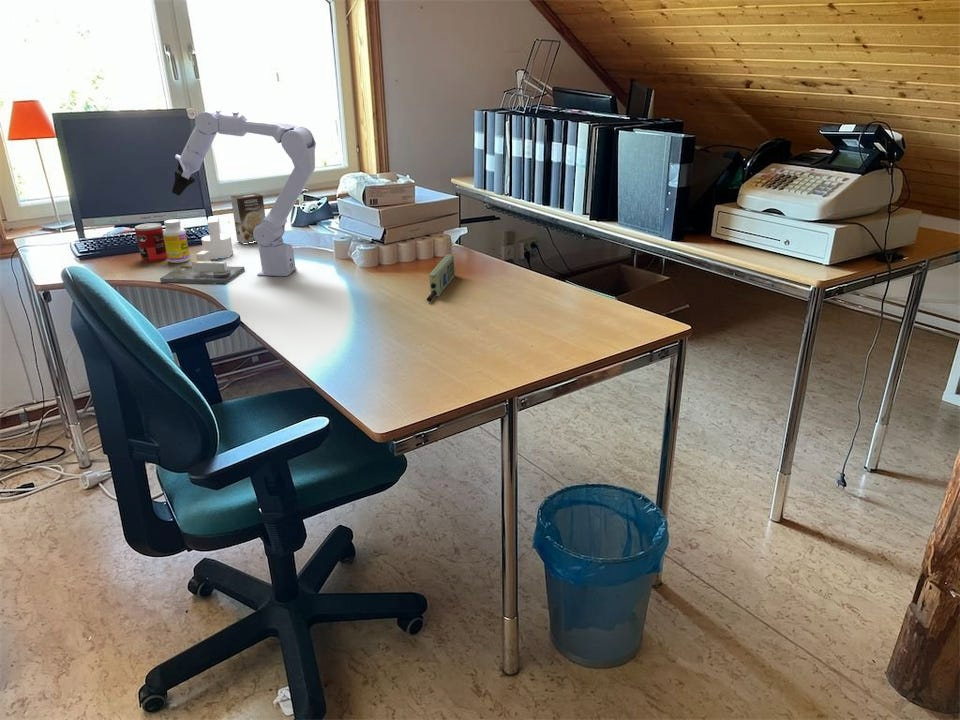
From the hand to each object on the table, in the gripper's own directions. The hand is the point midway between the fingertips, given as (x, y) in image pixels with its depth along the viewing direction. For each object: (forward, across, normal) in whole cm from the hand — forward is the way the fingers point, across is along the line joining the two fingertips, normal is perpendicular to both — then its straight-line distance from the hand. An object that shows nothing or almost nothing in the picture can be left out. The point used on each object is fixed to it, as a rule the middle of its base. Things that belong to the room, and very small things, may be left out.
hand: (177, 188), depth 203 cm
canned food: (+32, -11, +4) cm, 34 cm away
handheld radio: (-26, +42, +68) cm, 84 cm away
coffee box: (+18, -25, +31) cm, 44 cm away
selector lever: (+13, +15, +17) cm, 26 cm away
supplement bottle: (+26, -7, +11) cm, 29 cm away
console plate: (+17, +12, +16) cm, 26 cm away
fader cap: (+16, +8, +16) cm, 24 cm away
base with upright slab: (+20, -10, +21) cm, 31 cm away
